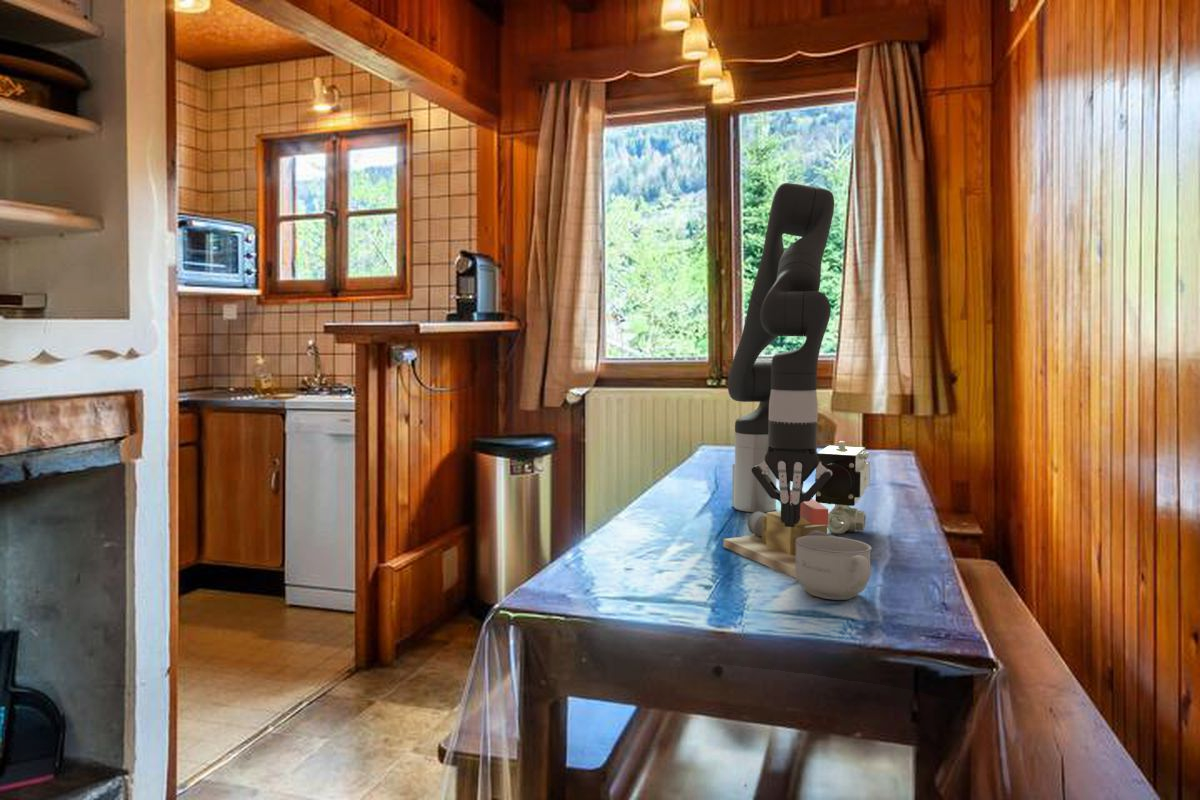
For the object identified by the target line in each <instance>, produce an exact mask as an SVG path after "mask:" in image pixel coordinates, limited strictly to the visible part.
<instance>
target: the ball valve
mask: <svg viewBox="0 0 1200 800" xmlns="http://www.w3.org/2000/svg"><path fill="white" fill-rule="evenodd" d="M817 454H818V456H819V458H820V464H822V465H823V466H824V467H825V468H826V469H829V470H831V471H832V476H831V477H830V479H829V480H828V481H827V482H826V483H825V484H824V485H823V486H822V487H821V489H820V490H819V491H818V492H817V493H816V494H815V501H817V502H818V503H820V504H827V505H834V507H833V508H832V509H831V510H830V511H828V525H827V530H828V531H830V532H831V533H833V534H837V535H840V534H844V533H846V532H850V533H857V531H865V529H866V524H867V523H866V521H867V520H866V516H867V515H866V511H864V510H859V509H858V508H856V507H855V508H854V506H855V505H857V503H858V501H860V499H861V498H862V496H863V495H864V494H865V491H866V490H867V489H868V487H869V486H870V477H871V476H870V475H871V472H870V471H871V468H870V467H871V462H870V461H866V460H868V459H869V458H870V457H869V454H870V453H869V451H866V447H865V446H854V445H853V446H852V445H846V441H845V440H844V441H843V440H840V441H838V445H836V444H835V445H833V444H829V445H828V446H826V447H824V448H823V449H821V450H820V451H819V452H817ZM816 473H817V470H816V469H815V474H816ZM814 478H815V479H814V483H815V482H816V481H817V480H818V479H816V477H814Z"/></svg>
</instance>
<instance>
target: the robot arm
mask: <svg viewBox="0 0 1200 800" xmlns="http://www.w3.org/2000/svg"><path fill="white" fill-rule="evenodd" d="M834 210H835V197H834V195H833V192H832V191H830V190H829V189H826V188H822V187H818V186H813V185H808V184H801V183H795V182H787V181H786V182H785V181H784V182H781V184H780V185H778V187H777V188H776V190H775V192H774V195H773V197H772V200H771V207H770V211H769V217H768V221H767V226H766V233H765V237H764V243H763V249H762V254H761V258H760V261H759V266H758V270H757V272H756V277H755V278H754V279H755V280H754V283H753V287H752V291H751V294H750V298H749V302H748V305H747V306H748V307H747V311H746V316H745V321H744V326H743V329H742V333H741V336H740V340H739V342H738V346H737V347H736V348H737V349H736V351H735V354H734V356H733V360H732V362H731V365H730V369H729V373H728V379H727V391H728V395H729V397H730V398H731V399H732V400H733V401H735V402H742V403H748V402H749V403H755V402H757V403H759V404H758V406H757V408H756V409H755V410H753V411H752V412H750V413H748V414H746V415H743V416H740V417H739V418H737V419H736V420H735V421H734V422H735V423H734V463H733V464H732V477H731V478H732V479H731V480H732V481H731V482H732V485H731V487H732V490H731V493H732V495H731V496H732V497H731V499H732V500H731V505H732V506H733V507H734V509H735V510H737V511H742V512H746V513H747V512H750V513H754V512H757V511H760V512H763V513H767V512H774V511H775V510H776V509H777V501H778V502H779V503H780V511H781V522H782V523H785V527H795V525H796V524H798V522H799V520H800V504H801V503H802V502H805V501H806V502H808V501H810V500H811V499H813V498H814V497H815V496H816V493H817V492H818V491H819V490H820V489H821V487H822V486H823V485H824V484H825V483H826V482H827V481H828V480H829V479H830V477H831V476H832V471H831V470H829V469H826V468H825V467H824V466H823V465H822V464H820V458H819V456H818V454H817V453H818V451H817V450H818V449H817V448H818V418H819V408H818V407H819V402H818V396H817V395H818V393H817V391H818V389H817V386H818V385H817V382H818V381H817V380H818V363H819V356H820V350H821V346H822V343H823V340H824V338H825V334H826V331H827V328H828V324H829V321H830V318H831V311H832V310H831V307H832V306H831V303H830V300H829V298H828V297H827V295H826V294H825V293H823V292H821V291H820V287H821V276H822V275H821V273H822V261H823V257H824V253H825V250H826V247H827V242H828V240H829V236H830V235H829V234H830V231H831V225H832V221H833V218H834V217H833V216H834V212H835V211H834ZM783 235H788V236H793V237H800V238H799V239H797V240H796V241H794V242H793V243H791V244H790V245H789V246H788V247H786V249H785V248H784V240H783ZM779 337H806V338H805V342H804V343H803V344H802V345H801V346H800V347H798V348H796V349H792V350H786V351H781V352H778V353H776V354H774V355H773V356H772V359H770V360H769V359H768V360H765V359H763V360H762V359H760V360H759V359H758V357H759V356H760V355H761V353H763V351H765V349H766V348H767V347H768V346H769V345H770V344H771V343H773V342H774V341H775V340H776V339H777V338H779ZM757 359H758V360H757ZM816 470H817V473H816V472H815V474H814V475H815V477H816V479H818V480H817V481H816V482H815V481H814V483H813V484H812V485H811V486H810V487H809V489H808V490H807V491H804V493H802V491H803V487H804V482H805V481H806V480H807V479H809V477H810V476H811V475H812V473H813V472H814V471H816ZM815 477H814V478H815ZM777 480H778V484H779V485H778V486H779V487H778V488H777ZM791 482H792V486H791ZM790 490H792V499H791V493H790ZM790 499H791V502H790Z"/></svg>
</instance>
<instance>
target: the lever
mask: <svg viewBox="0 0 1200 800" xmlns="http://www.w3.org/2000/svg"><path fill="white" fill-rule="evenodd" d="M790 493H791V499H792V489H790ZM802 493H805V491H803V490H802ZM791 499H790V502H791ZM828 513H829V508H828V507H826V506H824V505H823V504H822V503H818V502H817V501H816V499H813V498H812V499H811V500H810V501H808V502H806V501H805V502H802V503H801V504H800V516H801V517H803V518H804V519H805V520H807V521H808V522H809V523H811V524H812V525H828Z"/></svg>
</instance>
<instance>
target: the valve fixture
mask: <svg viewBox="0 0 1200 800" xmlns="http://www.w3.org/2000/svg"><path fill="white" fill-rule="evenodd" d="M747 528H748V530H749V532H750V533H751V535H743V536H738V537H737V536H736V537H735V536H734V537H729V538H723V542H722V543H723V546H722V547H723V548H725V549H727V550H730V551H732V552H735V553H736V554H738V555H742V556H743V557H746V558H748V559H750V560H753V561H755V562H756V563H757V562H758V563H760V564H762V565H765V566H767V567H769V568H771V569H774V570H776V571H778V572H780V573H783V574H785V575H787V574H788V576H789V575H790V577H792V576H793V577H792V578H794V577H795V579H796V578H797V577H796V571H795V559H796V539H797V538H799V537H802V536H814V535H819V536H833V537H837V536H836V535H833V534H832V535H831V534H829V533H828V528H827V525H812V524H811V523H809V522H808V521H807V520H805V519H804V518H803V517H801V516H800V520H799V522H798V524H796V525H795V527H785V523H782V522H781V510H777V511H775V510H774V511H769V512H760V511H757V512H752V514H751V515H750V516H749V518H748V522H747Z"/></svg>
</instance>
